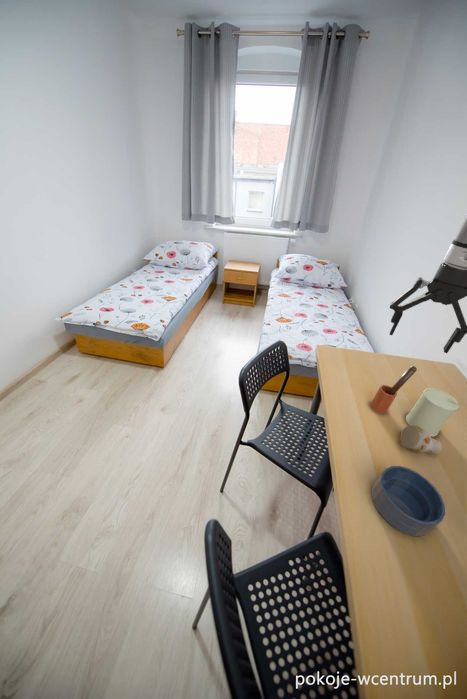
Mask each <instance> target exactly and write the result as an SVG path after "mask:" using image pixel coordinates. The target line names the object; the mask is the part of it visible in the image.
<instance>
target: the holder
mask: <svg viewBox="0 0 467 699" xmlns="http://www.w3.org/2000/svg"><path fill="white" fill-rule="evenodd" d="M392 387H393V386H391V385H387V384H382V385H380V386H379V388H378V389H377V392H376V393H375V395H374V397H373V398H372V400H371V403H370V408H371V409H372V410H373V411H374V412H376V413H378V414H380V415H381V414H382V415H384V414H386V413H387V412H388V411H389V409H390V407H391V406H392V404H393V402H394V401H395V399H396V397H397V395H398V391H397V392H396V393H395V394H394V395H389V394H387V392H388V391H389V390H390V389H391V388H392Z"/></svg>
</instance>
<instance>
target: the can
mask: <svg viewBox="0 0 467 699" xmlns="http://www.w3.org/2000/svg"><path fill="white" fill-rule="evenodd" d="M459 408H460V406H459V402H458V401H457V399H456V398H454V397H453V396H452V395H450V394H449V393H448V392H446V391H445V390H441V389H439V388H436V387H435V388H434V387H428V388H425V389H424V390H423V391H422V394H421V395H420V397H419V398H418V400H417V401H416V402H415V404H414V406H413V407H412V409H411V410H410V411H409V412H408V414H406V416H405V420H406V422H407V424H408V426H410V425H413V426H418V427H420V428H422V429H423V430H424V431H426V432H427V434H428V435H429V436H430V437H436V436H438V434H439V432H440V431H441V430H442V429H443V427H444V426H445V425H446V423H447V422H448V421H449V419H450V418H451V417H452V416H453V415H454V414H455V413H456V412H457V411H458V409H459Z"/></svg>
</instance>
